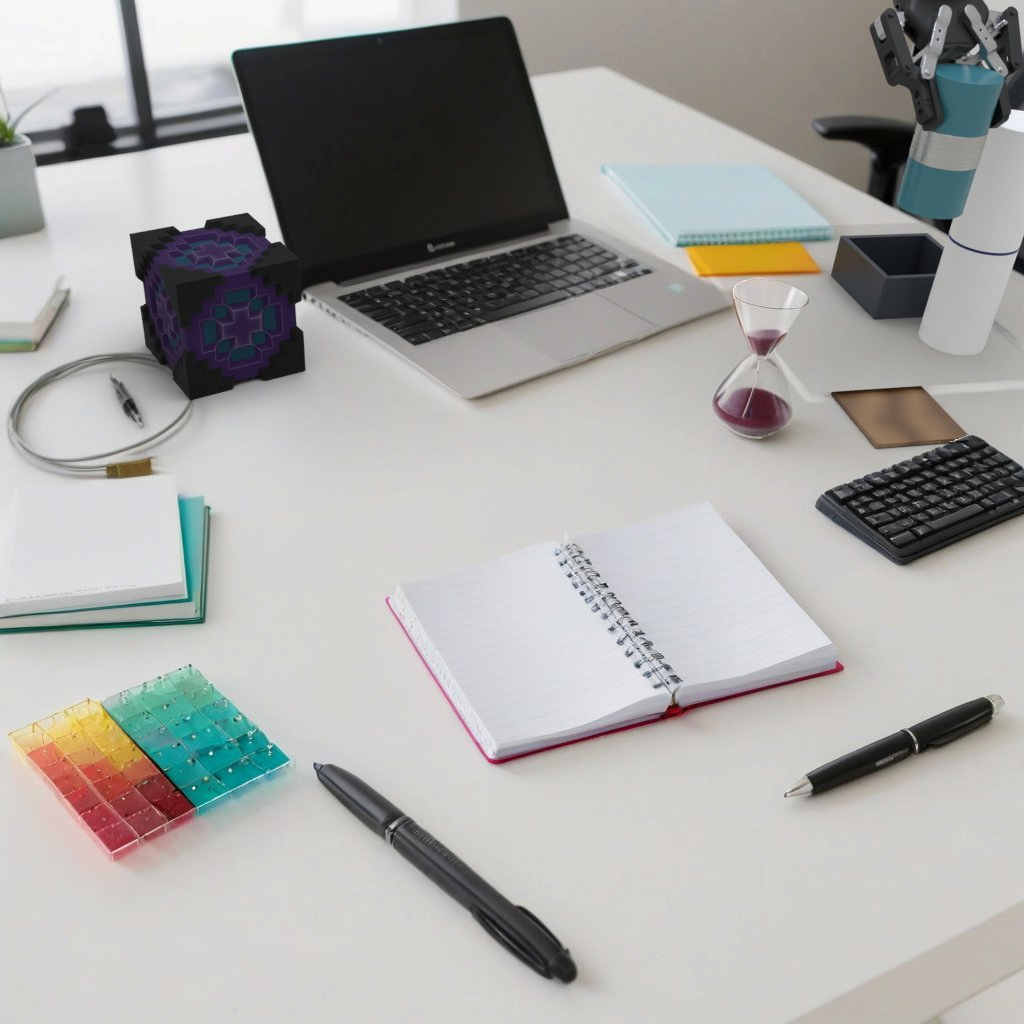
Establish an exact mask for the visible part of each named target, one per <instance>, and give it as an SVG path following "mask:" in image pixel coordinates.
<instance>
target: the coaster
mask: <svg viewBox="0 0 1024 1024" xmlns="http://www.w3.org/2000/svg"><path fill="white" fill-rule="evenodd" d="M830 395H831V396H832V397H833V399H834V400H835V401H836V402H837V404H838V405H840V407H841V408H842V409H843V411H844V412H845V413H846V414H847V416H848V417H849V418H850V419H851V420H852V422H854V424H855V425H856V426H857V428H858V429H859V430H860V431H861V433H862V434H863V435H864V436H865V437H866V439H868V441H869V443H871V445H872V446H873V447H874V448H875V449H886V448H898V447H913V445H914V446H925V445H924V444H927V445H934V444H933V443H939V442H940V444H948V443H947V442H950V441H954V440H955V439H959V438H961V437H964V436H966V435H969V434H968V433H967V432H966V431H965V430H964V428H962V427H961V426H960V424H958V422H957V421H956V420H954V418H953V417H952V416H951V415H950V414H949V413H948V412H947V411H946V410H945V409H944V408H943V407H942V405H941V404H939V402H937V400H936V399H935V398H934V397H932V395H931V394H930V393H929V392H928V391H927V390H926V388H924V387H923V385H914V386H913V385H912V386H900V387H899V386H898V387H883V388H870V389H869V388H867V389H853V390H852V389H851V390H835V391H831V393H830ZM944 442H946V443H944ZM910 445H911V446H910Z"/></svg>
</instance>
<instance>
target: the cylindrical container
mask: <svg viewBox="0 0 1024 1024" xmlns="http://www.w3.org/2000/svg"><path fill="white" fill-rule="evenodd" d="M1023 239H1024V110H1019V109H1011V114H1010V115H1009V119H1008V120H1007V121H1006V122H1005V123H1003V124H1002V125H1001V126H999V127H998V128H989V133H988V136H987V139H986V142H985V146H984V149H983V152H982V155H981V158H980V162H979V165H978V167H977V169H976V172H975V176H974V179H973V182H972V185H971V189H970V192H969V195H968V198H967V201H966V205H965V208H964V211H963V214H962V215H961V216H959V217H957V218H953V219H952V220H951V225H950V227H949V230H948V235H947V237H946V241H945V244H944V246H943V247H944V250H943V253H942V256H941V260H940V263H939V266H938V269H937V273H936V276H935V279H934V282H933V286H932V289H931V292H930V295H929V299H928V302H927V305H926V308H925V312H924V315H923V317H921V322H920V325H919V328H918V331H917V336H918V338H919V339H920V341H921V342H923V343H924V344H925V345H926V346H928V347H930V348H931V349H934V350H936V351H939V352H942V353H945V354H949V355H954V356H974V355H978V354H980V353H982V352H983V351H984V350H985V348H986V346H987V345H986V344H987V342H988V339H989V336H990V333H991V331H992V327H993V324H994V322H995V320H996V317H997V313H998V311H999V307H1000V305H1001V302H1002V299H1003V296H1004V293H1005V290H1006V287H1007V285H1008V282H1009V279H1010V277H1011V273H1012V270H1013V268H1014V264H1015V262H1016V259H1017V256H1018V253H1019V251H1020V247H1021V245H1022V242H1023Z"/></svg>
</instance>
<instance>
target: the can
mask: <svg viewBox="0 0 1024 1024" xmlns="http://www.w3.org/2000/svg"><path fill="white" fill-rule="evenodd" d="M931 81H937V85H938V89H939V94H940V99H941V103H942V108H943V113H944V122H943V123H942V124H941V125H940V126H939V127H937V128H936V129H935V130H933V131H923V129H922V125H919V123H918V121H916V125H915V130H914V132H913V136H912V140H911V143H910V144H911V145H910V147H909V150H908V151H909V152H908V157H907V161H906V164H905V168H904V172H903V175H902V178H901V182H900V187H899V190H898V194H897V198H896V204H897V205H898V206H899V208H901V209H902V210H904V211H906V212H908V213H911V214H912V215H915V216H919V217H922V218H927V219H934V220H953V218H957V217H959V216H961V215H962V214H963V211H964V208H965V205H966V201H967V198H968V195H969V192H970V189H971V185H972V182H973V179H974V176H975V172H976V169H977V167H978V165H979V162H980V158H981V155H982V152H983V149H984V146H985V142H986V139H987V136H988V133H989V128H990V124H991V121H992V118H993V115H994V112H995V108H996V105H997V102H998V99H999V96H1000V92H1001V89H1002V86H1003V83H1004V77H1003V76H1002V75H1001V74H999V73H997V72H995V71H993V70H990V69H989V68H988V67H985V68H983V67H979V66H974V65H969V64H960V63H958V62H957V63H956V62H946V63H939V64H938V63H937V64H936V68H935V72H934V76H933V78H932V79H931Z"/></svg>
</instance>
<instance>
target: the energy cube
mask: <svg viewBox="0 0 1024 1024" xmlns="http://www.w3.org/2000/svg"><path fill="white" fill-rule="evenodd" d="M266 232H267V231H266V228H265V227H264V225H262V224H261V223H260V222H259V221H258V220H257V219H255V218H254V217H253V216H252V214H250V213H249V212H243V213H237V214H231V215H227V216H221V217H215V218H210V219H206V220H205V222H204V226H203V227H199V228H194V229H193V228H192V229H187V230H181V231H180V230H179V229H178V228H177V227H175V226H174V225H171V226H165V227H160V228H155V229H148V230H143V231H138V232H132V233H129V240H130V248H131V256H132V260H133V269H134V275H135V277H136V278H137V279H138V280H140V281H141V282H142V287H143V292H144V293H143V295H144V301H145V303H144V304H142V305H141V306H139V309H140V316H141V322H142V329H143V335H144V344H145V347H147V349H148V350H149V352H151V353H152V355H153V356H154V358H155V359H156V360H157V361H158V362H159V364H160V365H163V364H167V363H168V365H170V367H171V368H172V373H171V374H172V380H173V381H174V382H175V383H176V385H177V386H178V387H179V388H180V390H181V391H182V392H183V393H184V395H185V396H186V397H187V398H188V400H189V401H193V400H195V399H200V398H203V397H207V396H212V395H216V394H219V393H222V392H223V393H224V392H227V391H230V390H233V389H234V388H235V387H234V386H235V384H236V382H238V381H242V380H246V379H250V378H254V377H258V376H259V378H261V379H262V380H263V381H264V382H265V381H270V380H273V379H277V378H282V377H285V376H290V375H293V374H296V373H301V372H306V353H305V336H304V335H305V333H304V330H302V329H301V328H300V327H299V326H297V324H298V323H297V310H296V308H297V307H296V305H297V304H298V303H300V302H302V300H303V297H302V278H301V277H302V276H301V259H300V258H299V257H298V256H297V254H295V253H294V252H293V251H291V249H290V248H289V247H287V246H286V245H285V244H283V243H282V242H281V241H274V242H271V241H270V240H269V239H268V238H267V233H266Z"/></svg>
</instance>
